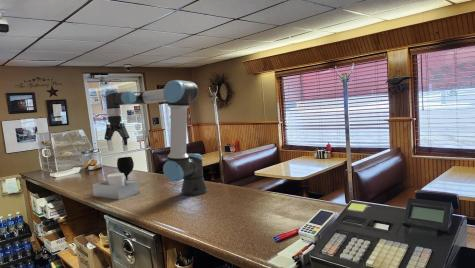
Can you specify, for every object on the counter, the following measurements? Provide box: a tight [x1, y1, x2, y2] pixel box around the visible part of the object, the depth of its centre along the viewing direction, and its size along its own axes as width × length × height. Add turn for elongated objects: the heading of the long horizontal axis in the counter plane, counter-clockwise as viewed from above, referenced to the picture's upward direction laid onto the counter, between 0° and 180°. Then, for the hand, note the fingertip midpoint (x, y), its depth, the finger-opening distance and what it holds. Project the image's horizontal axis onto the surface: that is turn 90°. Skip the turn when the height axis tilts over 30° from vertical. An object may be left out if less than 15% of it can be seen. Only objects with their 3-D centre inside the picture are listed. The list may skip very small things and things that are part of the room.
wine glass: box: [116, 156, 135, 180], centre depth 217 cm, size 10×10×20 cm
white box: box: [106, 172, 125, 187], centre depth 198 cm, size 10×10×12 cm
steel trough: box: [92, 179, 141, 201], centre depth 198 cm, size 24×15×8 cm, turn 57°
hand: (118, 150), depth 198 cm, fingers open, 13 cm apart
